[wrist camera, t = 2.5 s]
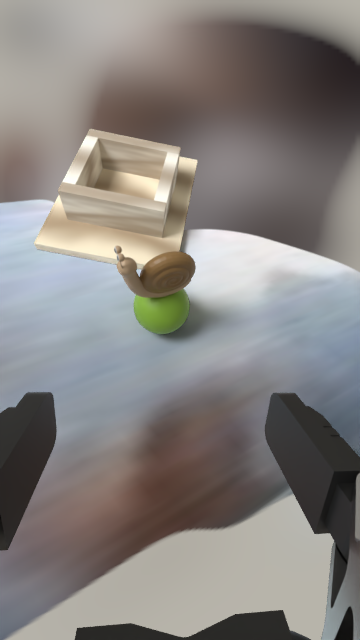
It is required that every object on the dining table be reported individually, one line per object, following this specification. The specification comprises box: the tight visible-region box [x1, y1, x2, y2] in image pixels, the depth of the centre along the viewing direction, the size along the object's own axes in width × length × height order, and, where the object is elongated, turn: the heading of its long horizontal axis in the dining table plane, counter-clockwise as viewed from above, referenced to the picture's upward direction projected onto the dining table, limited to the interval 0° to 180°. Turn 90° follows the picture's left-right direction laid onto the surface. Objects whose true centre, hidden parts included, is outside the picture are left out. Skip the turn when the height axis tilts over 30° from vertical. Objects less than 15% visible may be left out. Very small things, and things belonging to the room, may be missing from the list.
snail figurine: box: [114, 246, 195, 334], centre depth 24 cm, size 5×6×12 cm
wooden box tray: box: [34, 129, 197, 269], centre depth 34 cm, size 20×16×5 cm
